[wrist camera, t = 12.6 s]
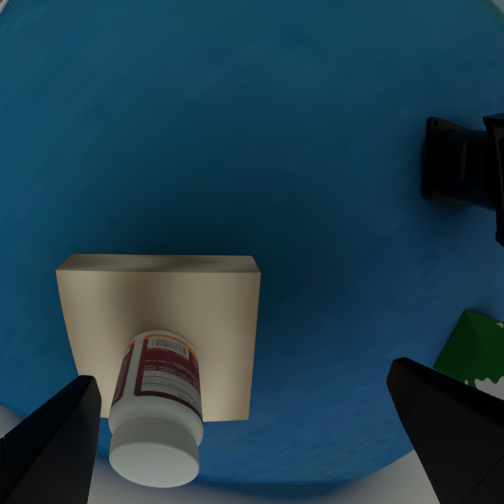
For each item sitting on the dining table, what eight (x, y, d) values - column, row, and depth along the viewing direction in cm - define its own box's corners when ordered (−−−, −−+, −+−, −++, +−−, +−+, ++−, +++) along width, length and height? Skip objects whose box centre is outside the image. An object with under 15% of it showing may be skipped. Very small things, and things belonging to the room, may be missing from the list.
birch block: (251, 255, 20) (260, 272, 18) (242, 393, 24) (248, 419, 21) (72, 253, 18) (55, 270, 16) (99, 391, 22) (92, 416, 19)
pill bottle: (153, 395, 19) (145, 497, 11) (110, 345, 18) (78, 450, 10) (212, 370, 19) (227, 478, 11) (173, 315, 18) (165, 425, 10)
